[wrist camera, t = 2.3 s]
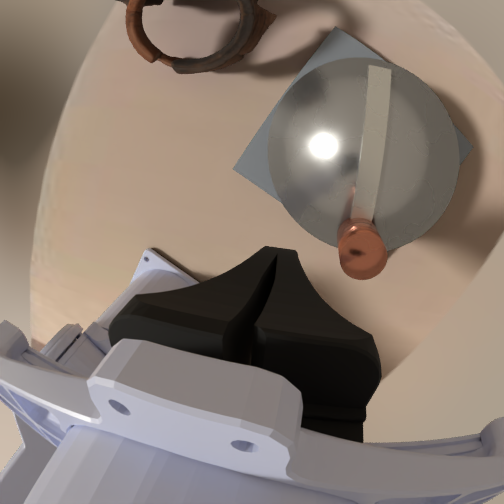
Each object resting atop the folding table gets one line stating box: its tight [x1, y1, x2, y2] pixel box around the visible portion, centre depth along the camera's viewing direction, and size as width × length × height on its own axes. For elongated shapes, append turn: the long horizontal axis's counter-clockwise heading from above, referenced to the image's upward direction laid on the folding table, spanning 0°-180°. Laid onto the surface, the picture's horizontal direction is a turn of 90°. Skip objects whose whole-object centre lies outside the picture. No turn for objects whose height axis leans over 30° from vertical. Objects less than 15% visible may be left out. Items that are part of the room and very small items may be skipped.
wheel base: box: [233, 26, 473, 252], centre depth 17 cm, size 12×12×1 cm
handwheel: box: [268, 58, 459, 280], centre depth 14 cm, size 11×11×6 cm
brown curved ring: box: [117, 0, 276, 74], centre depth 13 cm, size 12×10×8 cm
